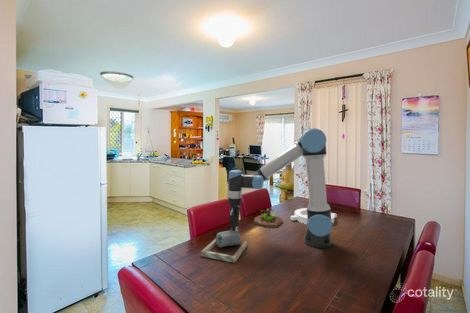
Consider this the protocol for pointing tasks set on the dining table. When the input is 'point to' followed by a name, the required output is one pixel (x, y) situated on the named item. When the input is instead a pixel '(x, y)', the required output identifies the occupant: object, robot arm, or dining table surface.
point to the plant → (268, 220)
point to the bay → (219, 256)
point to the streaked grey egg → (227, 238)
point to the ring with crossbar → (302, 216)
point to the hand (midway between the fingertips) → (234, 237)
